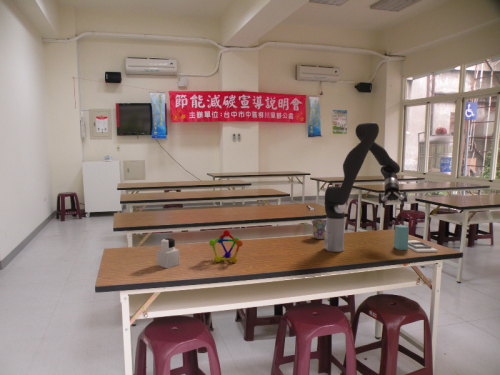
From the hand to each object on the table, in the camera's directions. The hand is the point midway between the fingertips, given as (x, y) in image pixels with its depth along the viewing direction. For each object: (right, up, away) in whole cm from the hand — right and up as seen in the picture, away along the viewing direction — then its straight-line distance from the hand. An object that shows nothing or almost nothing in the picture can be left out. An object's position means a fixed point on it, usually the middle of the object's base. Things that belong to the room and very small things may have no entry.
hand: (393, 206), depth 183 cm
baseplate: (+15, -22, +5) cm, 27 cm away
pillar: (+5, -22, +3) cm, 23 cm away
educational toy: (-87, -25, -17) cm, 92 cm away
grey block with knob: (-112, -25, -24) cm, 118 cm away
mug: (-35, -20, +26) cm, 48 cm away
